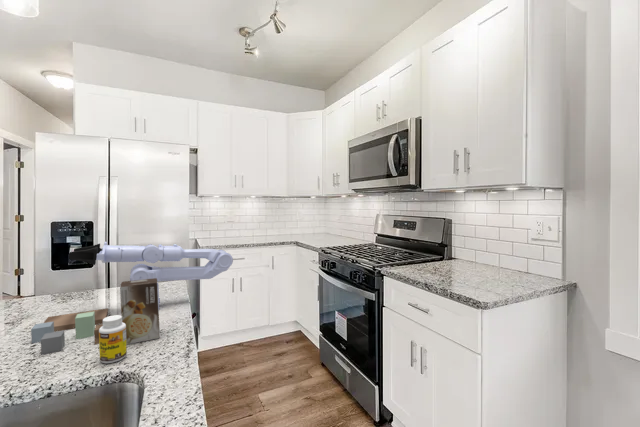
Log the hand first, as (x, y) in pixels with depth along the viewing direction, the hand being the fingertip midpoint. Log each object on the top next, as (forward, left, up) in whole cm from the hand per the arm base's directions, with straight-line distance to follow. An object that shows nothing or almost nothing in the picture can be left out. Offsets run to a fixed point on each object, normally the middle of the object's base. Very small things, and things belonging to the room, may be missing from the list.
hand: (71, 253), depth 100 cm
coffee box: (-19, +26, -22) cm, 39 cm away
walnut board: (-1, +3, -22) cm, 22 cm away
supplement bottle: (-13, +36, -22) cm, 44 cm away
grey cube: (+1, +22, -22) cm, 31 cm away
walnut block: (-10, +22, -22) cm, 33 cm away
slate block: (+5, +13, -22) cm, 26 cm away
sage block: (-5, +16, -22) cm, 28 cm away
